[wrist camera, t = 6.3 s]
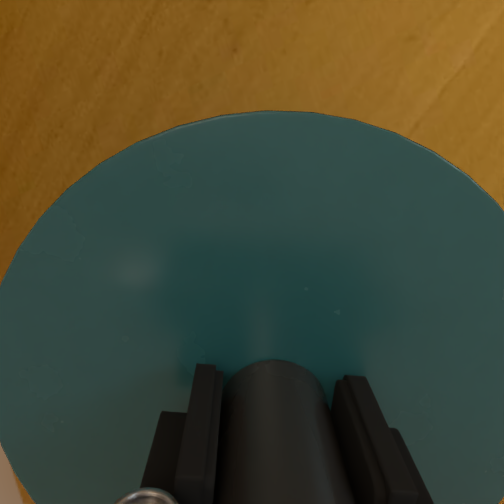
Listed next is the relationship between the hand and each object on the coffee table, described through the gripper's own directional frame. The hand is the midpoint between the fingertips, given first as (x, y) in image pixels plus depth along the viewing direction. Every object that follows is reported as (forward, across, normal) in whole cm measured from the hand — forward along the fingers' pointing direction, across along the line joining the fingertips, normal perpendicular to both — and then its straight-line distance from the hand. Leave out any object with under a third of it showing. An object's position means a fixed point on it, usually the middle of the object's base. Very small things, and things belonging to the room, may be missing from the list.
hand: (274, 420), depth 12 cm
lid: (+1, 0, 0) cm, 1 cm away
